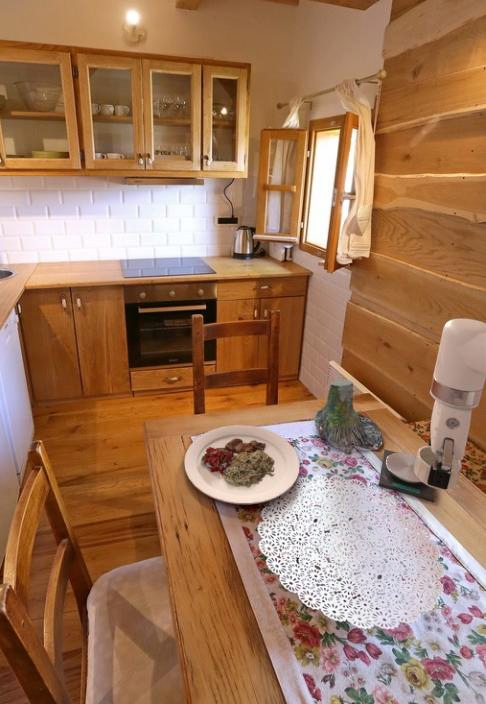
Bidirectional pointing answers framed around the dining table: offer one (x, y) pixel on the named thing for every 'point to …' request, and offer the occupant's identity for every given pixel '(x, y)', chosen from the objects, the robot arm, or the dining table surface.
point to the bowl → (426, 460)
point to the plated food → (241, 464)
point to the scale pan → (402, 467)
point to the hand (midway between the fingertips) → (436, 471)
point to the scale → (403, 483)
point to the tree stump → (346, 421)
